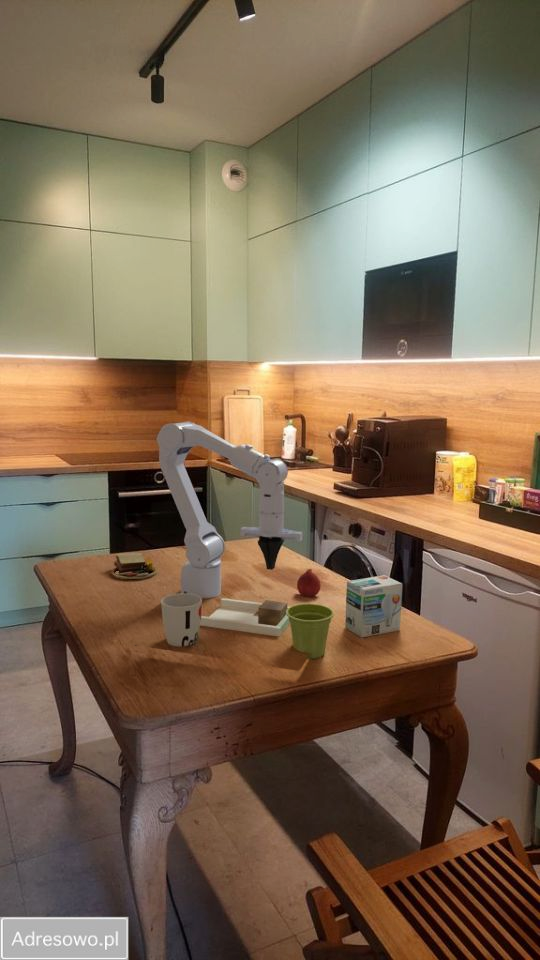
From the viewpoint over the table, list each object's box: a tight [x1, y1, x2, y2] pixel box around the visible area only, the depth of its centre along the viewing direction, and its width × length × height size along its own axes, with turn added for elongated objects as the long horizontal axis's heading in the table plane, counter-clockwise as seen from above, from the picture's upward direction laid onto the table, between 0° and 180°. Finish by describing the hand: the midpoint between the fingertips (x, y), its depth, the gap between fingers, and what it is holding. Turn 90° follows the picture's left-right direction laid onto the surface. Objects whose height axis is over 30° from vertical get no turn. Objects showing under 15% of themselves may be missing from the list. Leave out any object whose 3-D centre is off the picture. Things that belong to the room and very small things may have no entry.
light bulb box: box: [344, 574, 403, 638], centre depth 140 cm, size 11×7×11 cm, turn 117°
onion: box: [296, 567, 322, 598], centre depth 158 cm, size 6×6×8 cm
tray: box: [200, 597, 291, 637], centre depth 141 cm, size 18×13×3 cm
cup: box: [160, 592, 203, 653], centre depth 129 cm, size 8×8×10 cm
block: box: [257, 599, 288, 626], centre depth 139 cm, size 5×5×4 cm
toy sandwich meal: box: [110, 552, 158, 580], centre depth 178 cm, size 12×14×5 cm
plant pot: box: [286, 603, 335, 660], centre depth 127 cm, size 9×9×9 cm
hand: (270, 568), depth 151 cm, fingers closed
